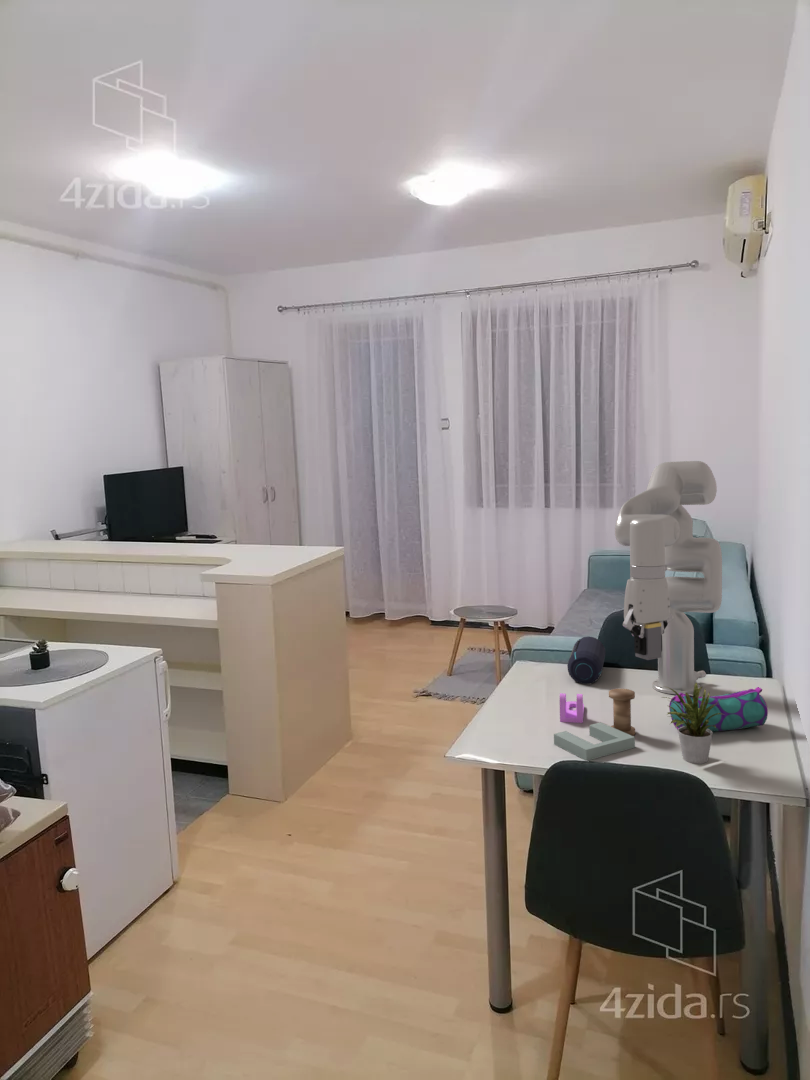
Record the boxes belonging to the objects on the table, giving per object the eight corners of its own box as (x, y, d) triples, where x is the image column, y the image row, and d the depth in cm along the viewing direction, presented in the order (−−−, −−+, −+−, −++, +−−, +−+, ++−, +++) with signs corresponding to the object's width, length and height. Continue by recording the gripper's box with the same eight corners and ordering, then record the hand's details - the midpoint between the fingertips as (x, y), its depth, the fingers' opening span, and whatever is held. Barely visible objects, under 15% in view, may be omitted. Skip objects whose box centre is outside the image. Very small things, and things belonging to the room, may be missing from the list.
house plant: (658, 742, 176) (657, 673, 175) (722, 746, 172) (722, 676, 171) (659, 767, 163) (659, 692, 161) (729, 772, 159) (729, 695, 157)
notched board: (600, 732, 184) (600, 722, 184) (634, 747, 174) (634, 736, 174) (554, 744, 178) (553, 733, 178) (586, 760, 168) (586, 749, 168)
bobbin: (623, 726, 187) (622, 687, 186) (640, 734, 182) (640, 693, 181) (604, 731, 185) (603, 691, 184) (621, 739, 179) (620, 697, 178)
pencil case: (684, 739, 178) (684, 699, 177) (668, 725, 187) (668, 687, 186) (769, 732, 180) (770, 692, 179) (749, 719, 189) (749, 681, 188)
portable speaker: (574, 663, 245) (573, 633, 243) (606, 664, 242) (605, 633, 240) (566, 687, 221) (565, 653, 220) (601, 688, 218) (601, 654, 217)
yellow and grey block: (648, 653, 176) (648, 619, 175) (661, 657, 173) (661, 622, 172) (635, 656, 175) (635, 622, 174) (648, 660, 171) (647, 625, 170)
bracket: (582, 723, 191) (582, 696, 190) (560, 722, 192) (559, 695, 192) (584, 706, 204) (583, 681, 203) (563, 705, 205) (562, 680, 204)
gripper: (663, 567, 179) (663, 644, 180) (607, 574, 171) (608, 654, 173) (687, 570, 172) (688, 650, 174) (630, 578, 165) (631, 661, 166)
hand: (648, 651), depth 173 cm, fingers closed on yellow and grey block, 4 cm apart
